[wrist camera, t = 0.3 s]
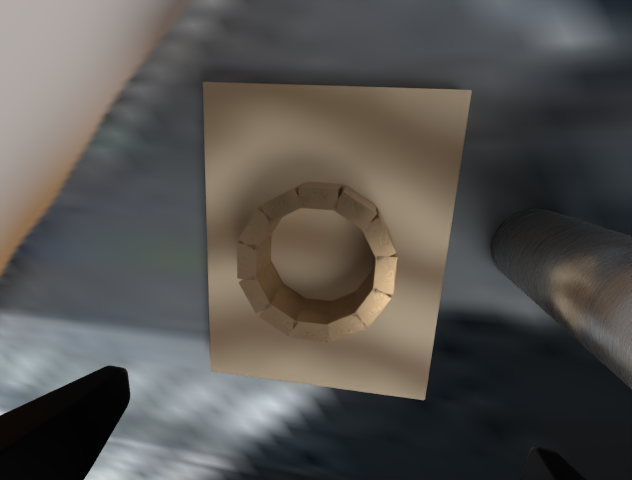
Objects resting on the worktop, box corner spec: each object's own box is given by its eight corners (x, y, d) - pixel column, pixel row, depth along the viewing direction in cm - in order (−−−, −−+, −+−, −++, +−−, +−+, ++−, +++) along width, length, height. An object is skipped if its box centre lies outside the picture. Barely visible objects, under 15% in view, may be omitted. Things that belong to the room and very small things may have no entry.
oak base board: (421, 384, 23) (424, 400, 22) (219, 358, 25) (210, 371, 24) (463, 94, 19) (471, 90, 17) (214, 86, 20) (202, 81, 19)
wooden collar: (384, 321, 21) (386, 349, 18) (254, 307, 22) (237, 331, 19) (398, 187, 19) (404, 194, 16) (255, 178, 20) (236, 182, 17)
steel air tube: (565, 287, 20) (948, 548, 7) (483, 279, 21) (690, 508, 8) (585, 210, 19) (1087, 344, 6) (497, 203, 20) (771, 314, 6)
